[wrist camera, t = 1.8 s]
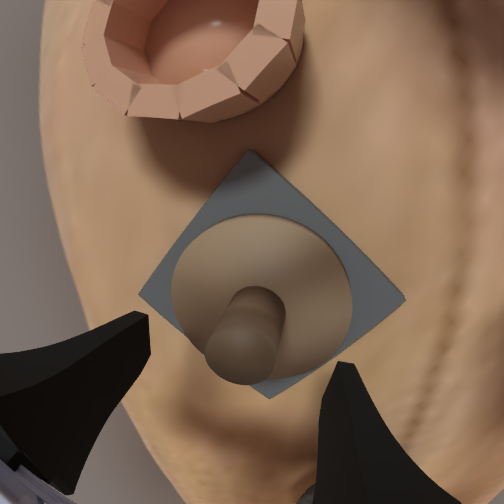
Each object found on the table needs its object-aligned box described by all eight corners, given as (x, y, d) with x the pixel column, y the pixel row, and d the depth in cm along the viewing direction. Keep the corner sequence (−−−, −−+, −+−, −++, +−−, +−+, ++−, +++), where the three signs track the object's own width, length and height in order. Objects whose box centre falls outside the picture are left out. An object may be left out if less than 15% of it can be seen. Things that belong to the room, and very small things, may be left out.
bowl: (342, 25, 10) (348, -15, 6) (221, 158, 13) (184, 166, 10) (205, -49, 9) (174, -86, 6) (108, 68, 13) (56, 59, 9)
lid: (386, 300, 13) (406, 361, 9) (269, 388, 17) (253, 448, 13) (249, 172, 13) (215, 190, 9) (152, 296, 16) (107, 342, 12)
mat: (403, 294, 14) (406, 300, 13) (270, 392, 18) (269, 399, 17) (251, 149, 13) (248, 149, 12) (143, 289, 17) (137, 294, 16)
